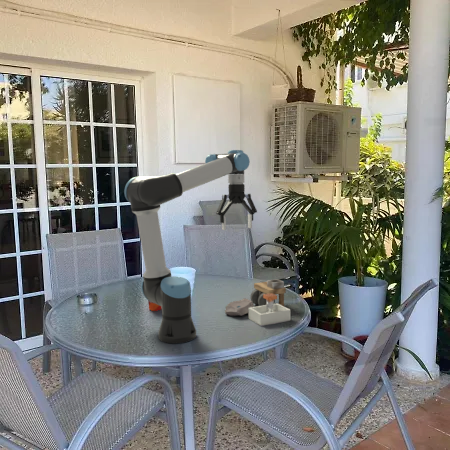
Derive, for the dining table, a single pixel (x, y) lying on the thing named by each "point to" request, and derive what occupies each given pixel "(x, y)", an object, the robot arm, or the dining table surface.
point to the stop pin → (269, 301)
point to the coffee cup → (154, 306)
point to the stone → (238, 307)
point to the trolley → (268, 291)
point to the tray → (269, 315)
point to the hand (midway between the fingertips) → (237, 228)
